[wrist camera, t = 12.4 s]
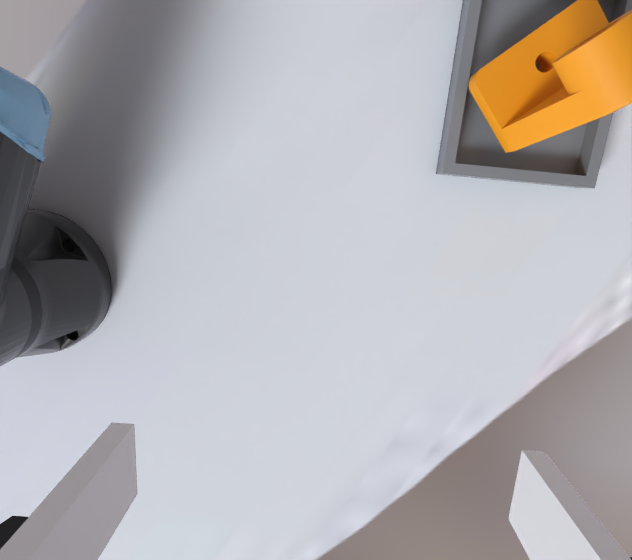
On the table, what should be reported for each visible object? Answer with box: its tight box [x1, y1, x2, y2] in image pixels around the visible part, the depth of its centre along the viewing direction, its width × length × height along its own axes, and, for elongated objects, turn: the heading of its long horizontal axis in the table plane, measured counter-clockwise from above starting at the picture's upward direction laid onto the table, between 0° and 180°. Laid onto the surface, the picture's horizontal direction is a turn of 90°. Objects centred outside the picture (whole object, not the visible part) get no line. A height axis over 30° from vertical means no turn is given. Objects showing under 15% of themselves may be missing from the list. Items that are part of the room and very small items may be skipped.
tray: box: [436, 0, 632, 188], centre depth 39 cm, size 14×17×2 cm
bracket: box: [469, 0, 632, 153], centre depth 31 cm, size 11×7×12 cm, turn 125°
